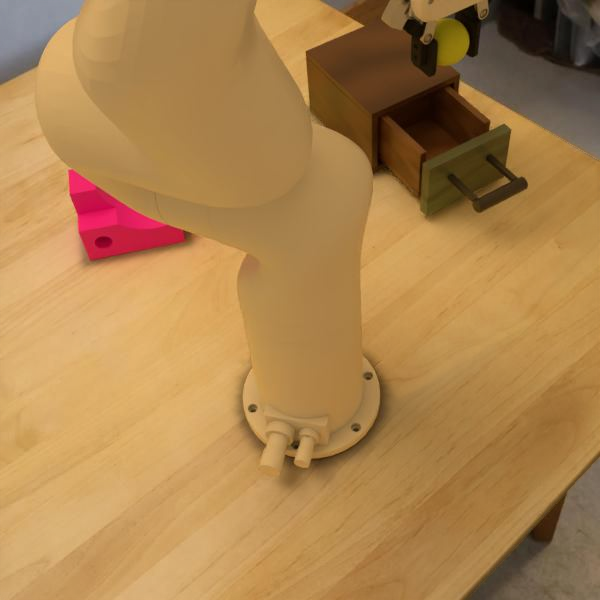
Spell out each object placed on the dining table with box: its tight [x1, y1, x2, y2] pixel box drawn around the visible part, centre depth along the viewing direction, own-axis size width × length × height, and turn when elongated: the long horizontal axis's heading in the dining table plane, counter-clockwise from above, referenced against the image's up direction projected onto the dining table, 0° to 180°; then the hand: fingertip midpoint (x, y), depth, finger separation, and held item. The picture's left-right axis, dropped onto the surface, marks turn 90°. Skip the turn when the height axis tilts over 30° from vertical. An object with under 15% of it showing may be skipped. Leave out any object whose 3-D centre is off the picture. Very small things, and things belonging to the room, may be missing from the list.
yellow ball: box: [433, 17, 469, 66], centre depth 82 cm, size 4×4×4 cm
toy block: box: [67, 168, 186, 261], centre depth 91 cm, size 15×6×8 cm, turn 102°
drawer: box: [377, 85, 529, 217], centre depth 91 cm, size 18×10×7 cm, turn 31°
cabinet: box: [305, 18, 461, 174], centre depth 98 cm, size 14×12×9 cm
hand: (444, 57), depth 84 cm, fingers closed on yellow ball, 4 cm apart
